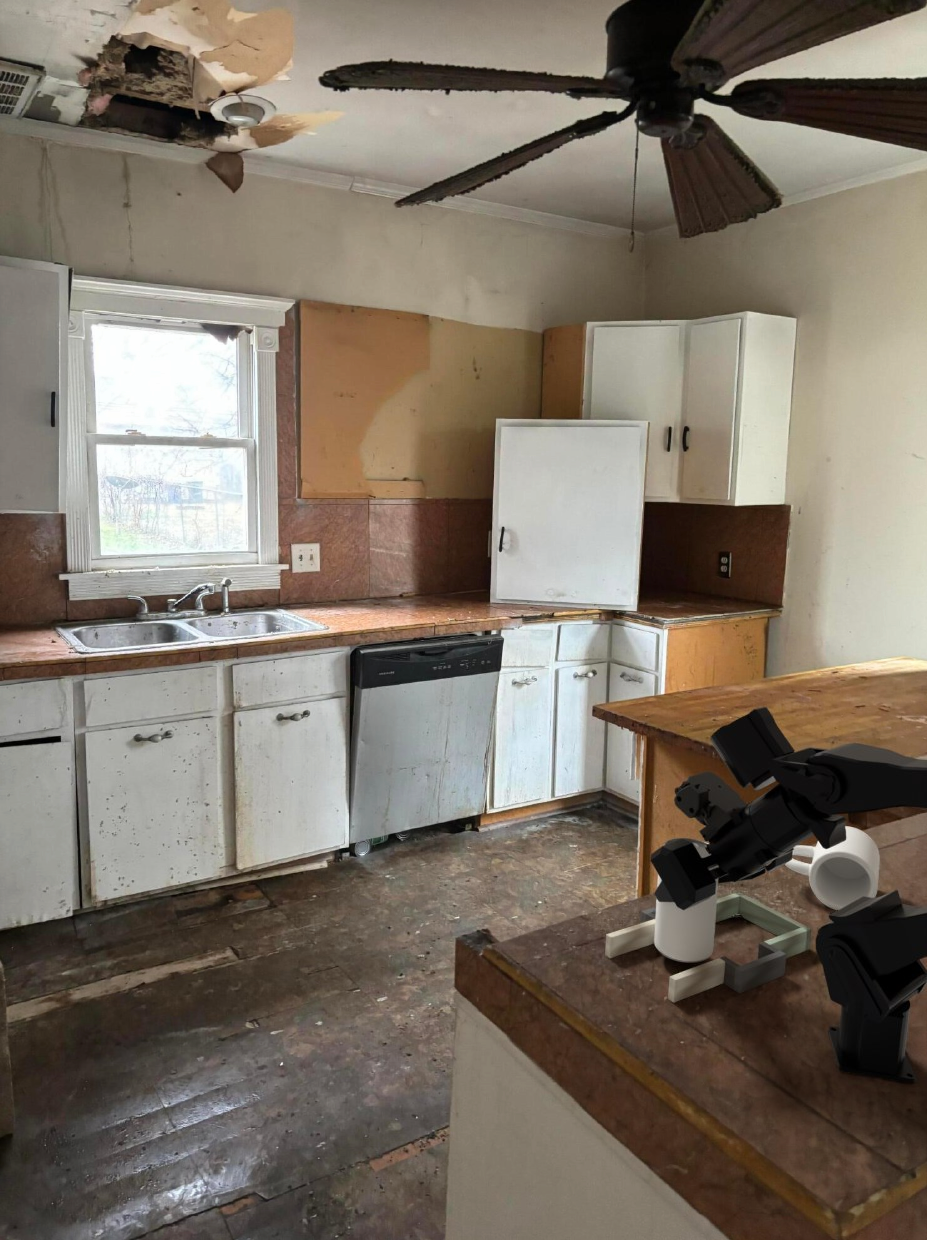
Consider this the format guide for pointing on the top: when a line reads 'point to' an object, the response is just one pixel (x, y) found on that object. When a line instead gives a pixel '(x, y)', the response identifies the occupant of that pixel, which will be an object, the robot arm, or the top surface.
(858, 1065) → the robot arm
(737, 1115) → the top surface
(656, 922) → the can
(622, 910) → the top surface
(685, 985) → the channel
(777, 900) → the top surface
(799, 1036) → the top surface
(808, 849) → the mug
